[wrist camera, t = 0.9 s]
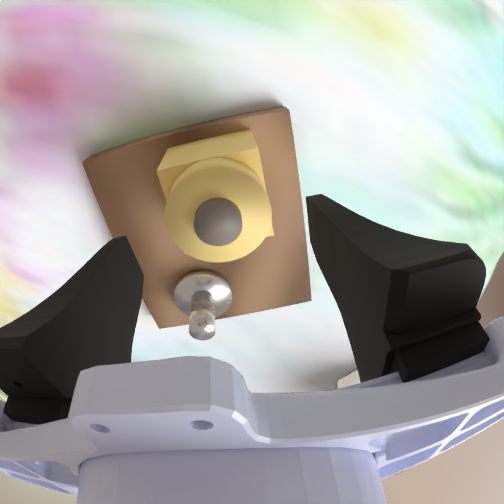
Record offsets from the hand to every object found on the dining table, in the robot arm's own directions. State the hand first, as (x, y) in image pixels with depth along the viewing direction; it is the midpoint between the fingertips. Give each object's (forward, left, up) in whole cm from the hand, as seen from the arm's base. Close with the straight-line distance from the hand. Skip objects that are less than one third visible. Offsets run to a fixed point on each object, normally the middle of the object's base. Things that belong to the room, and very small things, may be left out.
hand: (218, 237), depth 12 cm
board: (-2, -4, -8) cm, 9 cm away
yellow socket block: (0, 0, -7) cm, 7 cm away
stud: (-3, -8, -7) cm, 11 cm away
